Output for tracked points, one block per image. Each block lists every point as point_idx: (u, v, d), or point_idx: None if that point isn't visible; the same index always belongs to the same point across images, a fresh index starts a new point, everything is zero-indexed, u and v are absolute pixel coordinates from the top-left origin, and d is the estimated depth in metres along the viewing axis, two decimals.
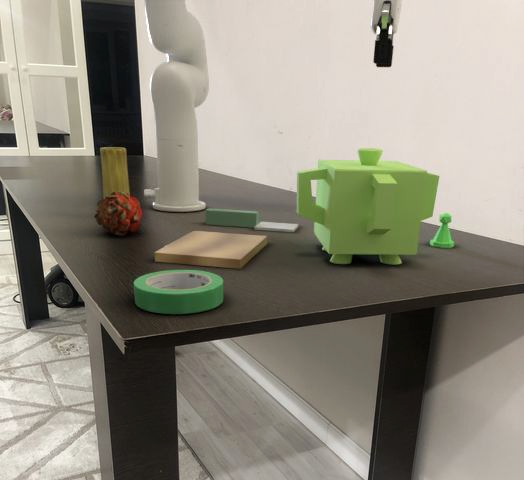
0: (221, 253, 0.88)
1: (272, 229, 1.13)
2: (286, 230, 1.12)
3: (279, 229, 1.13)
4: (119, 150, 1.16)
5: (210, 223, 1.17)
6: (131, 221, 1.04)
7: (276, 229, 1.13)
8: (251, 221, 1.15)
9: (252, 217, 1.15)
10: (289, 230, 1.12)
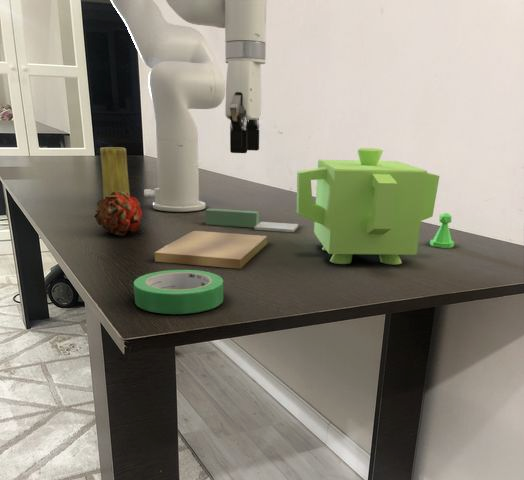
0: (221, 253, 0.88)
1: (272, 229, 1.13)
2: (286, 230, 1.12)
3: (279, 229, 1.13)
4: (119, 150, 1.16)
5: (210, 223, 1.17)
6: (131, 221, 1.04)
7: (276, 229, 1.13)
8: (251, 221, 1.15)
9: (252, 217, 1.15)
10: (289, 230, 1.12)
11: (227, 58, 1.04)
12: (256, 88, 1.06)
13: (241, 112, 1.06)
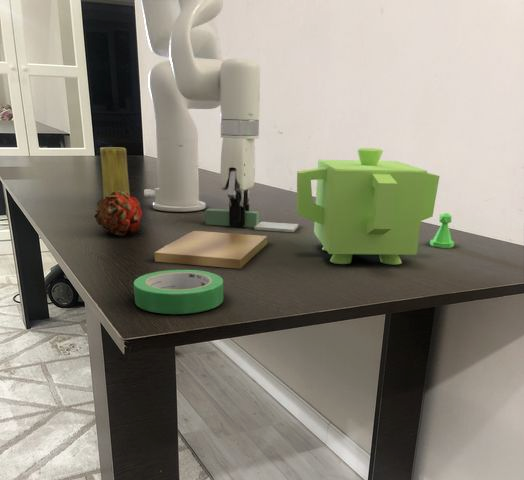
0: (221, 253, 0.88)
1: (272, 229, 1.13)
2: (286, 230, 1.12)
3: (279, 229, 1.13)
4: (119, 150, 1.16)
5: (210, 223, 1.17)
6: (131, 221, 1.04)
7: (276, 229, 1.13)
8: (251, 221, 1.15)
9: (252, 217, 1.15)
10: (289, 230, 1.12)
11: (222, 134, 1.09)
12: (250, 162, 1.11)
13: None
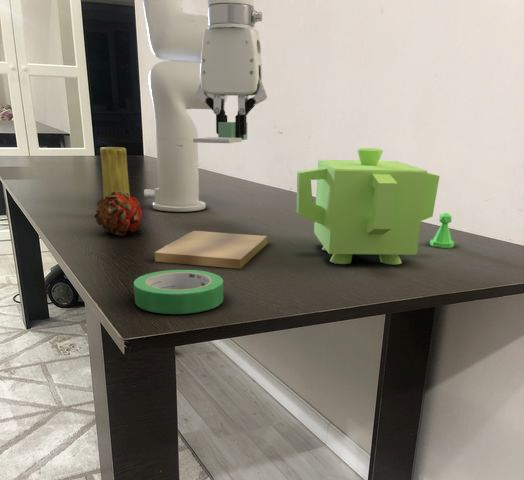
0: (221, 253, 0.88)
1: None
2: None
3: None
4: (119, 150, 1.16)
5: None
6: (131, 221, 1.04)
7: None
8: None
9: None
10: None
11: None
12: (220, 58, 0.93)
13: None
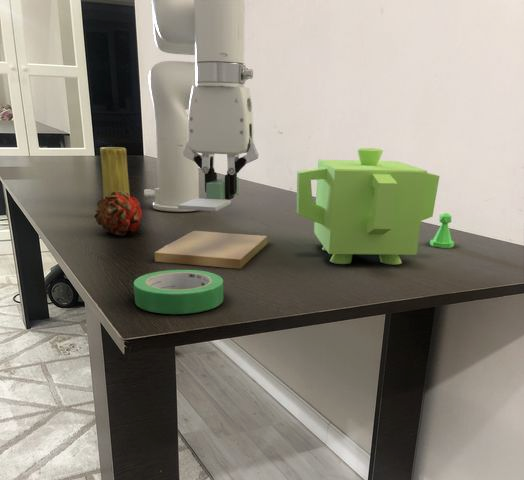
0: (221, 253, 0.88)
1: None
2: None
3: None
4: (119, 150, 1.16)
5: None
6: (131, 221, 1.04)
7: None
8: None
9: None
10: None
11: None
12: (208, 117, 0.88)
13: None
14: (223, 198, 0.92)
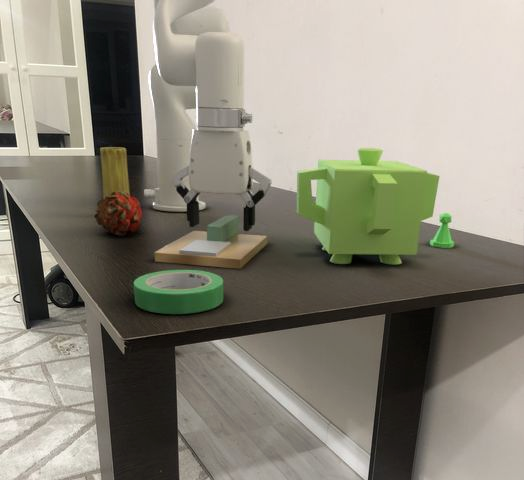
0: (221, 253, 0.88)
1: None
2: None
3: None
4: (119, 150, 1.16)
5: None
6: (131, 221, 1.04)
7: None
8: None
9: None
10: None
11: None
12: (209, 159, 0.91)
13: None
14: (223, 239, 0.95)
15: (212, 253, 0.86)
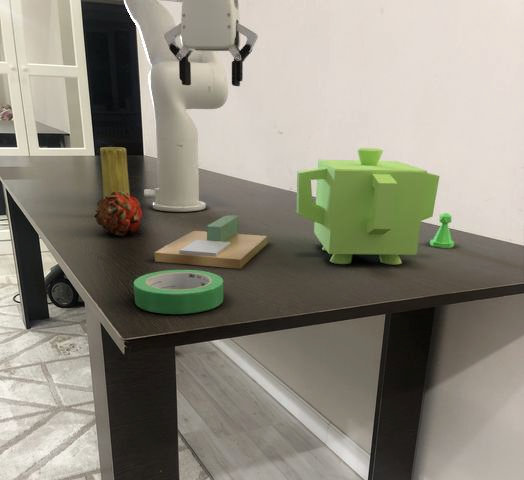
0: (221, 253, 0.88)
1: None
2: None
3: None
4: (119, 150, 1.16)
5: None
6: (131, 221, 1.04)
7: None
8: None
9: None
10: None
11: None
12: (199, 12, 0.98)
13: None
14: (223, 239, 0.95)
15: (212, 253, 0.86)
